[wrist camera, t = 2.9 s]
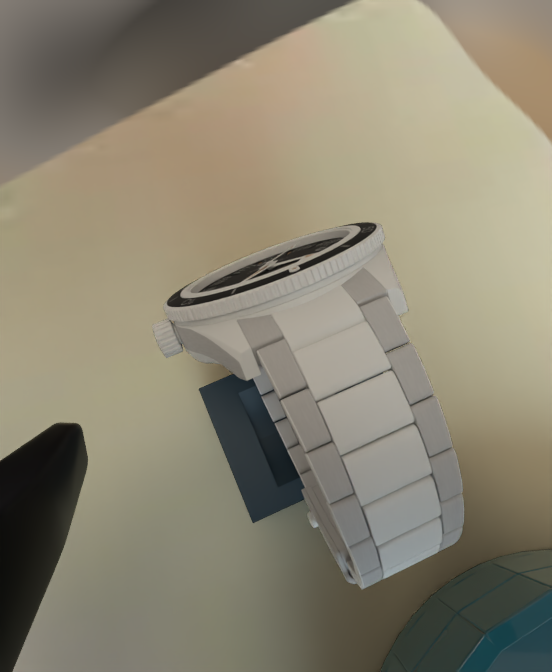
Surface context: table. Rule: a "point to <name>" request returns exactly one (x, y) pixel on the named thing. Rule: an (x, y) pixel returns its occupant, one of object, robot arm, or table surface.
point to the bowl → (483, 621)
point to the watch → (325, 397)
